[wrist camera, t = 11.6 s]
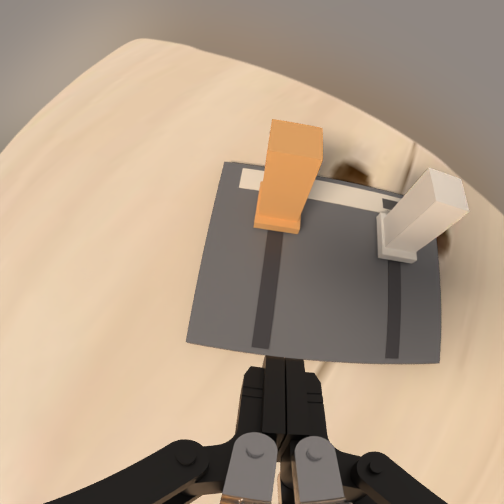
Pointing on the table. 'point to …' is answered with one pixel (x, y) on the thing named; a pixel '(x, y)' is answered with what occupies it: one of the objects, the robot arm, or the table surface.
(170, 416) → the table surface
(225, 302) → the switch panel
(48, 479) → the table surface
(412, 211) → the white slide tab
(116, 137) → the table surface
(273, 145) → the orange tab
